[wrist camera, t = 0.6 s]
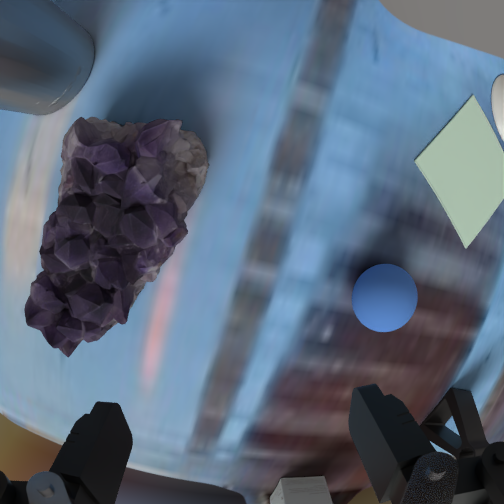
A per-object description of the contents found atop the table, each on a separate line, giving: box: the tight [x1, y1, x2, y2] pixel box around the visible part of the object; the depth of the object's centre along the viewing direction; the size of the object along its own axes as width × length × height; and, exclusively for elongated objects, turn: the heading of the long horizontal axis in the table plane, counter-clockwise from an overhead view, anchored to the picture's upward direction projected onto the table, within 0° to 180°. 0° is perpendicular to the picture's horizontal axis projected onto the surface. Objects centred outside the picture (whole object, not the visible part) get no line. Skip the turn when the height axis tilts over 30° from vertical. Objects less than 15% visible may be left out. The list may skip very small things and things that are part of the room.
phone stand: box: [420, 388, 490, 459], centre depth 30 cm, size 9×6×12 cm, turn 155°
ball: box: [352, 264, 417, 332], centre depth 25 cm, size 6×6×6 cm
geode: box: [25, 117, 209, 357], centre depth 21 cm, size 20×12×10 cm, turn 153°
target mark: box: [414, 95, 504, 248], centre depth 26 cm, size 12×12×1 cm
